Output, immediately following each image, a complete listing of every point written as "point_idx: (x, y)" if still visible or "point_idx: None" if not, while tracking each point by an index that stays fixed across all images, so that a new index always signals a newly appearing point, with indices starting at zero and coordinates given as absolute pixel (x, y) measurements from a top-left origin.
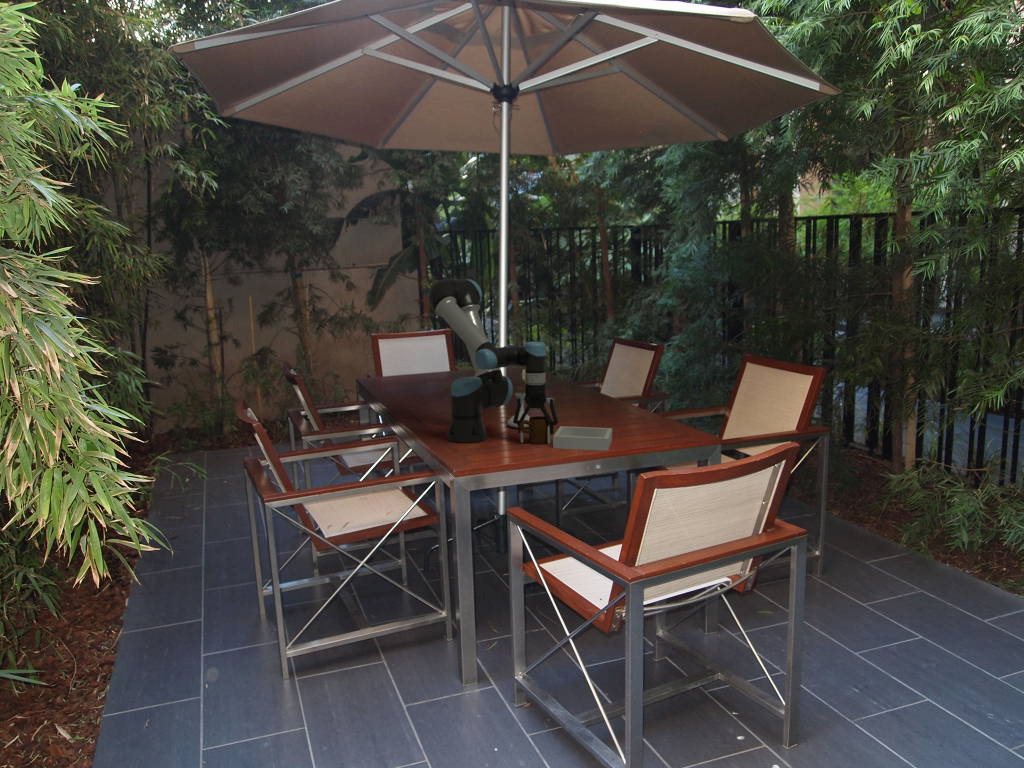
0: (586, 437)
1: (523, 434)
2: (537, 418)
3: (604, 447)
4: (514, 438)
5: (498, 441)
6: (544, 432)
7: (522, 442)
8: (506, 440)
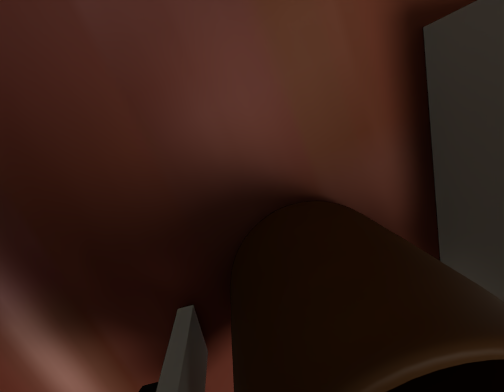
0: None
1: (193, 371)
2: (348, 357)
3: None
4: (57, 231)
5: (3, 375)
6: (423, 379)
7: (205, 353)
8: (40, 321)
